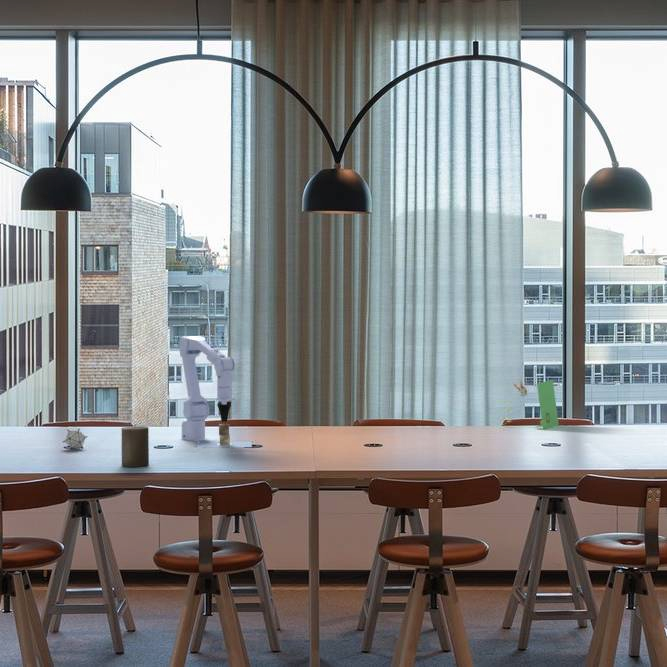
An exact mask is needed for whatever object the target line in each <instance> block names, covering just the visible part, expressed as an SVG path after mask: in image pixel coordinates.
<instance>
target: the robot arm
mask: <svg viewBox="0 0 667 667" xmlns="http://www.w3.org/2000/svg"><path fill="white" fill-rule="evenodd" d="M178 349H179V355H180V357H181V358H182V359H181V360H182V365H183V372H184V378H185V383H186V384H185V385H186V391H187V398H186V399H185V400H184V401H183V409H182V410H183V411H182V412H183V413H182V414H183V416H184V418H185V419H183V421H182V423H181V439H180V440H181V441H192V442H193V441H197V442H202V441H204V440H205V441H206V440H209V439H210V438H206V420H207V419H208V416H209V414H210V406H209V405H208V402H207V399H206V398H205V397H204V396H202V395H201V389H200V383H199V378H198V377H199V376H198V371H197V365H196V364H197V363H196V359H197V357H199V356H200V354H204V355H206V360H207V361H209V363H211V364H212V365H213V367H214V370H215V375H216V377H217V379H216V380H217V381H216V385H217V386H216V387H217V389H216V390H217V393H216V394H217V395H216V396H217V397H216V400H217V404H216V405H217V407H218V411H219V414H220V421H221V422H222V423H223V422H224V423H225V422H228V418H229V413H230V409H231V407H232V400H233V401H234V400H235V397H232V372H233V370H234V369H235V361H234V359H233V358H232V356H226V355H225V354H223V353H222V351H220V350H219V349H218V348H212V347H211V346H210V344H208V343H207V340H206V338H205V337H204V336H203V335H195V336H194V335H193V336H192V335H191V336H185V335H183V336H181V337H180V339H179V342H178Z"/></svg>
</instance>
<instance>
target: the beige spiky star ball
mask: <svg viewBox="0 0 667 667" xmlns="http://www.w3.org/2000/svg"><path fill="white" fill-rule="evenodd" d="M66 430H67V435H66V437H65V439H64V440H63V441H62V443H66V445H68V446H69V447H70V450H71V451H72V450H73V449H82V450H83V449H84V447H83V446H84V443H85V440H86V439H87V438H88V437H89V436H88V435H85V434H83V433H82V431H81V429H80V428H77V430H69V429H66Z"/></svg>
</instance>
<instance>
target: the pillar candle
mask: <svg viewBox="0 0 667 667" xmlns="http://www.w3.org/2000/svg"><path fill="white" fill-rule="evenodd" d="M149 432H150V431H149V426H136V425H134V426H123V427H121V467H125V468H141V467H148V466H149V465H150V460H149V456H150V454H149V453H150V452H149V451H150V448H149V444H150V442H149V441H150V440H149V438H150V436H149Z"/></svg>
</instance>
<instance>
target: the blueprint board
mask: <svg viewBox="0 0 667 667" xmlns="http://www.w3.org/2000/svg"><path fill="white" fill-rule="evenodd" d="M252 447H253V445H252V441H230V445H220V441H197V445H196V448H197V449H198V448H199V449H200V448H202V449H203V448H252Z"/></svg>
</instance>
